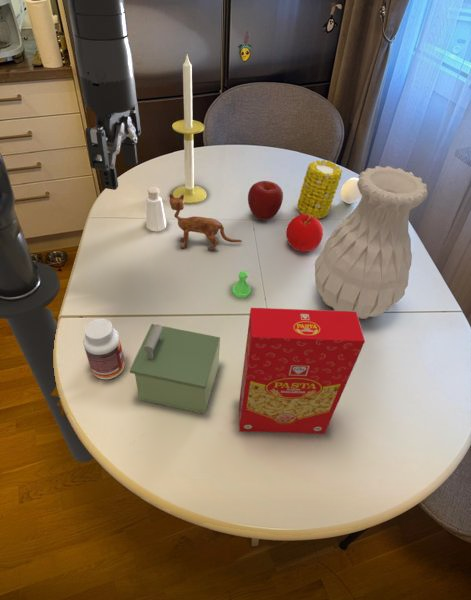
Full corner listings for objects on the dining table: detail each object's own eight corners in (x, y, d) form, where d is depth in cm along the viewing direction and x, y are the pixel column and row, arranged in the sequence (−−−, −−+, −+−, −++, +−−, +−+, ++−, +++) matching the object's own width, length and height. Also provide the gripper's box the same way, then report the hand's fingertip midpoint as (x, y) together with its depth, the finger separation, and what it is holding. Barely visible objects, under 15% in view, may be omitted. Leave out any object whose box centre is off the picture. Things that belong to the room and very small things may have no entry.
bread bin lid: (130, 373, 69) (126, 356, 66) (152, 326, 76) (149, 310, 73) (205, 389, 68) (205, 373, 64) (220, 340, 75) (220, 323, 72)
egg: (349, 195, 129) (356, 171, 124) (363, 205, 126) (371, 181, 120) (333, 199, 127) (339, 175, 121) (347, 210, 123) (354, 186, 118)
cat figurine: (241, 237, 110) (245, 191, 101) (242, 253, 106) (246, 206, 96) (172, 235, 109) (170, 188, 100) (170, 251, 105) (167, 203, 95)
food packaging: (239, 431, 71) (251, 337, 53) (238, 404, 75) (250, 307, 57) (324, 433, 72) (365, 341, 54) (320, 406, 75) (356, 311, 58)
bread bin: (139, 399, 74) (134, 374, 69) (159, 353, 82) (156, 327, 76) (204, 414, 73) (205, 389, 68) (218, 366, 80) (220, 340, 75)
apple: (284, 224, 116) (289, 192, 109) (251, 227, 114) (254, 195, 107) (273, 205, 122) (278, 174, 115) (242, 208, 120) (245, 176, 113)
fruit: (281, 252, 107) (286, 219, 100) (287, 233, 113) (293, 200, 106) (316, 260, 105) (325, 227, 98) (321, 240, 112) (329, 208, 105)
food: (290, 211, 124) (320, 207, 127) (310, 224, 115) (341, 221, 118) (295, 158, 116) (327, 156, 119) (317, 168, 107) (350, 166, 110)
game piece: (236, 283, 98) (237, 263, 93) (253, 288, 97) (255, 268, 92) (229, 294, 95) (230, 274, 90) (246, 300, 94) (249, 280, 90)
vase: (299, 271, 102) (326, 154, 81) (378, 270, 104) (423, 156, 83) (318, 334, 88) (356, 212, 67) (408, 331, 90) (473, 212, 69)
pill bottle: (130, 371, 78) (123, 332, 71) (99, 386, 76) (87, 348, 68) (117, 349, 82) (108, 310, 74) (86, 362, 79) (74, 323, 72)
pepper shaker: (153, 218, 114) (150, 181, 107) (170, 224, 113) (168, 187, 105) (142, 228, 111) (137, 191, 103) (159, 234, 109) (156, 197, 102)
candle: (165, 194, 123) (156, 51, 97) (189, 182, 129) (187, 44, 103) (189, 207, 119) (186, 62, 93) (213, 194, 125) (217, 54, 98)
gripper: (102, 54, 64) (117, 154, 76) (56, 83, 54) (81, 193, 66) (149, 60, 64) (157, 160, 75) (110, 90, 54) (126, 201, 65)
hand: (121, 175), depth 70 cm, fingers open, 8 cm apart
